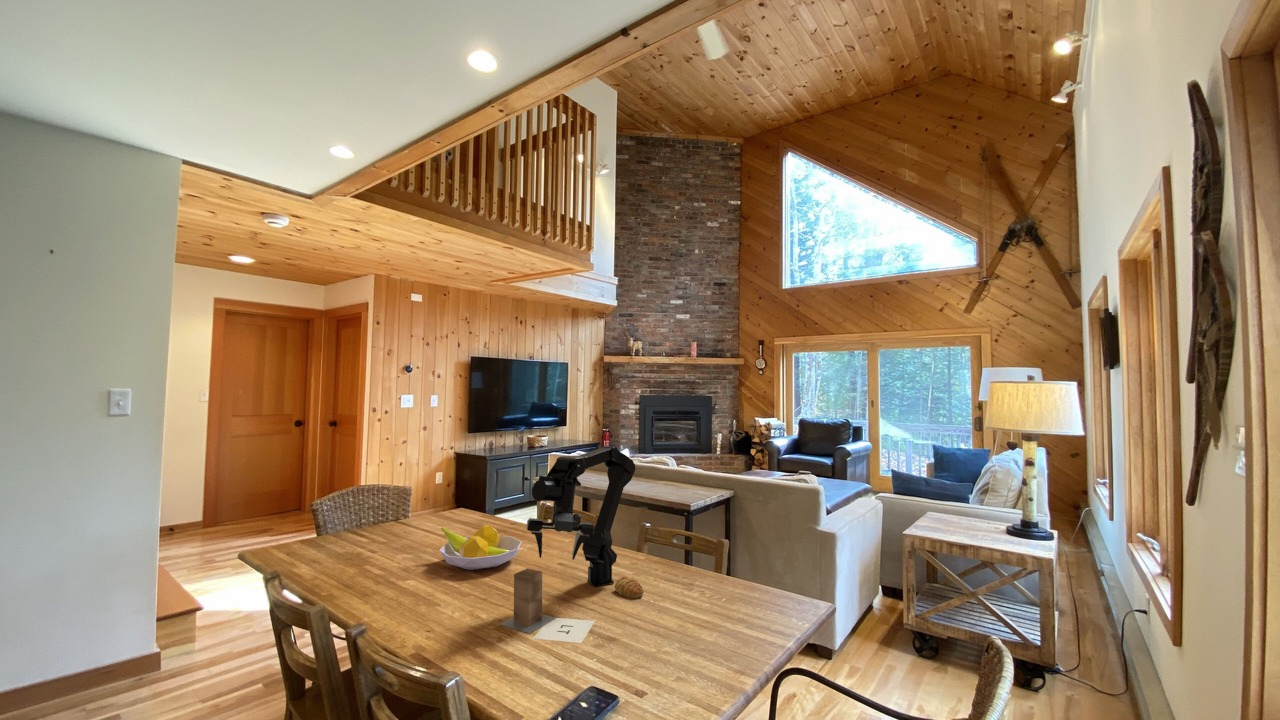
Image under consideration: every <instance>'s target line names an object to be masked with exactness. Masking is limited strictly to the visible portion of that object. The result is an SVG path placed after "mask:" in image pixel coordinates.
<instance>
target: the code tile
mask: <svg viewBox="0 0 1280 720" xmlns="http://www.w3.org/2000/svg"><path fill="white" fill-rule="evenodd" d="M555 618H556V619H554V620H553V621H551V622H549V623H547V624H546V625H544V626H543V627H541V628H539V629H538V632H537V633H536V634H535V635H534V636H533V637H532V639H533V640H544V641H545V640H546V641H552V642H553V641H554V642H555V641H556V642H565V643H578V644H582V643H583V641H584V640H585V638H586V637H587V635H588V633H590V630H591V629H592V627H593V625H594V624H595V622H596V621H595V620H587V619H576V618H575V619H574V618H573V619H572V618H562V617H555Z"/></svg>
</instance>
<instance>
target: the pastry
mask: <svg viewBox="0 0 1280 720" xmlns="http://www.w3.org/2000/svg"><path fill="white" fill-rule="evenodd" d="M614 590H615V591H616V593H618V594H619V595H620V596H624V597H626V598H630V599H631V598H632V599H637V598H639V597H642V596H643V594H644V591H645V590H644V589H643V586H642V585H641V583H639V582H638V580H636V579H634V578H631V577H630V578H629V577H628V576H621V577H620V578H618V579H617V580H616V582H615V584H614Z"/></svg>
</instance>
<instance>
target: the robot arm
mask: <svg viewBox="0 0 1280 720" xmlns="http://www.w3.org/2000/svg"><path fill="white" fill-rule="evenodd" d="M600 464H603V465H604V466H605V467H606V468H607V473H606V475H607V479H608V484H607V488H606V491H605V494H604V497H603V500H602V503H601V506H600V507H601V508H600V510H599V513H598V515H597V516H598V517H597V519H596V522H595V525H594V524H593V523H592V522H586V521H582V514H581V513H574V512H573V511H574V503H575V496H576V495H575V494H576V487H581V486H582V483H581V482H580V481H579V479H578V478H579V477H580V476H582V475H583V474H584V473H585V472H586V470H587V469H589V468H592V467H594V466H598V465H600ZM635 471H636V464H635V462H634V460H633V459H632V458H630V457H629V456H627V455H626V454H624V453H622V452H621V451H620V450H619V449H618V448H617V447H615V446H606V445H604V446H602V447H600V448H598V449H594V450H591V451H589V452H585V453H582V454H579V455H562V456H559V457H557V458H556V461H555V463H554V464H553V465H552V467H551V468H550V470H549V471H548V472H547V474H546V475H539V477H538V480H536V481H535V483H534V484H533V486H532V488H531V495H532V499H534V500H535V501H536V502H553V504H552V505H553V506H552V513H551V519H550V522H549V521H543V519H542V518H535V517H534V518H533V517H532V518H531V517H529V518H528V519H527V520H526V521H527V522H526V526H525V529H526V530H527V531H529V532H530V533H531V535H534V536H535V540H536V544H537V549H538V550H537V551H538V555H539V556H538V557H539V558H540V559H541V558H542V554H543V531H542V530H544V529H545V530H555V532H559V533H560V532H567V533H572V532H575V538H574V544H573V550H572V553H571V554H572V557H571V558H572V560H573V561H574V560H575V559H576V556H577V554H578V551H579V549H580V547H581V546H582V547H581V548H582V552H583V555H584V560H585V561H586V562H589V566H588V567H587V581H588V582H589V583H590V585H592V586H593V587H600V586H601V587H602V586H607V585H613V584H614V583H615V582H614V581H615V580H613V565H614V564H615V563H616V562H617V558H618V554H617V553H616V551H614V549H612V545H613V539H612V538H613V537H612V535H611V533H612V532H611V531H612V527H613V524H614V520H615V518H616V515H617V511H618V507H619V504H620V502H621V498H622V494H623V491H624V488H625V487H626V485H628V484H629V482H631V481H632V479H633V476H634V474H635Z"/></svg>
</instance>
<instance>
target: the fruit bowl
mask: <svg viewBox="0 0 1280 720" xmlns="http://www.w3.org/2000/svg"><path fill="white" fill-rule="evenodd" d="M440 529H441V531H442V532H443V533H444V535H443V536H445V538H446V540H447V541H448V542H446V543H445V544H444V545H443V546H442V547H441V548H440V549H439V552H440V554H441V555H442V557H443V559H444V560H445V562H446V563H447V564H448V565H451V566H454V567H458V568H462V569H465V570H467V571H473V570H474V569H475V570H481V569H482V570H483V568H484V569H491V567H492V568H497V567H499V566H500V565H503V564H505V563H507V562H508V561H510V560H512V559H513V558H514V557H516V556H517V554H518V552H519V549H520V546H521V544H522V541H521V540H519V539H517V538H515V537H513V536H508V535H499V532H498V531H497V529H496V528H494V527H492V526H490V525H488V524H484V525H483V526H482V527H480V528H479V529H477V530H476V531H475V532H474V533H473V536H467V537H464V536H462V535H460V534H457V533H455V532H453V531H450V530H447V529H446V527H444V526H441V528H440ZM475 570H474V571H475Z"/></svg>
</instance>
